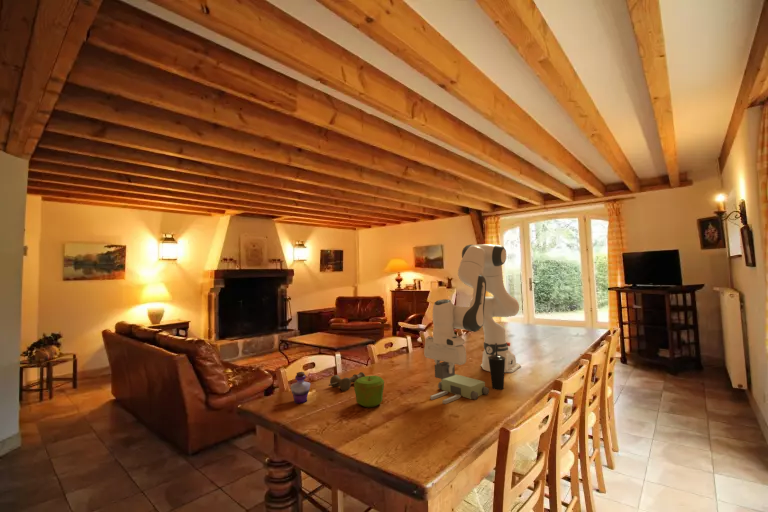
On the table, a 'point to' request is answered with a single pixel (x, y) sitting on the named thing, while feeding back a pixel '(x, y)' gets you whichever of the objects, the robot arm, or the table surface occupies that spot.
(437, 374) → the dark grey block
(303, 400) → the potion bottle
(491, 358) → the drinking cup
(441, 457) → the table surface
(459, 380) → the green block with prongs
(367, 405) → the apple
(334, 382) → the kendama
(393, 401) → the table surface
